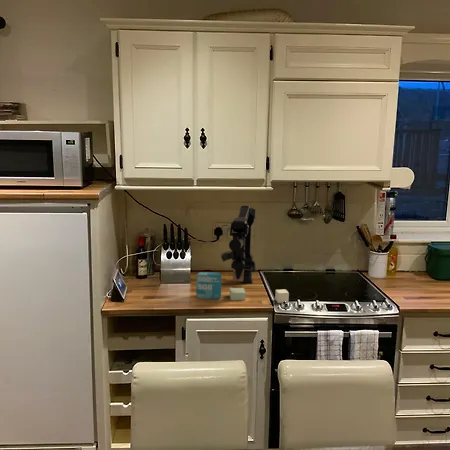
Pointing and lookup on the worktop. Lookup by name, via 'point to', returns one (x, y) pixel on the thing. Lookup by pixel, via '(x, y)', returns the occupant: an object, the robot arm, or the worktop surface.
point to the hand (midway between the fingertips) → (238, 277)
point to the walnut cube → (235, 276)
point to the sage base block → (237, 294)
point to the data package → (208, 285)
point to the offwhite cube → (282, 296)
